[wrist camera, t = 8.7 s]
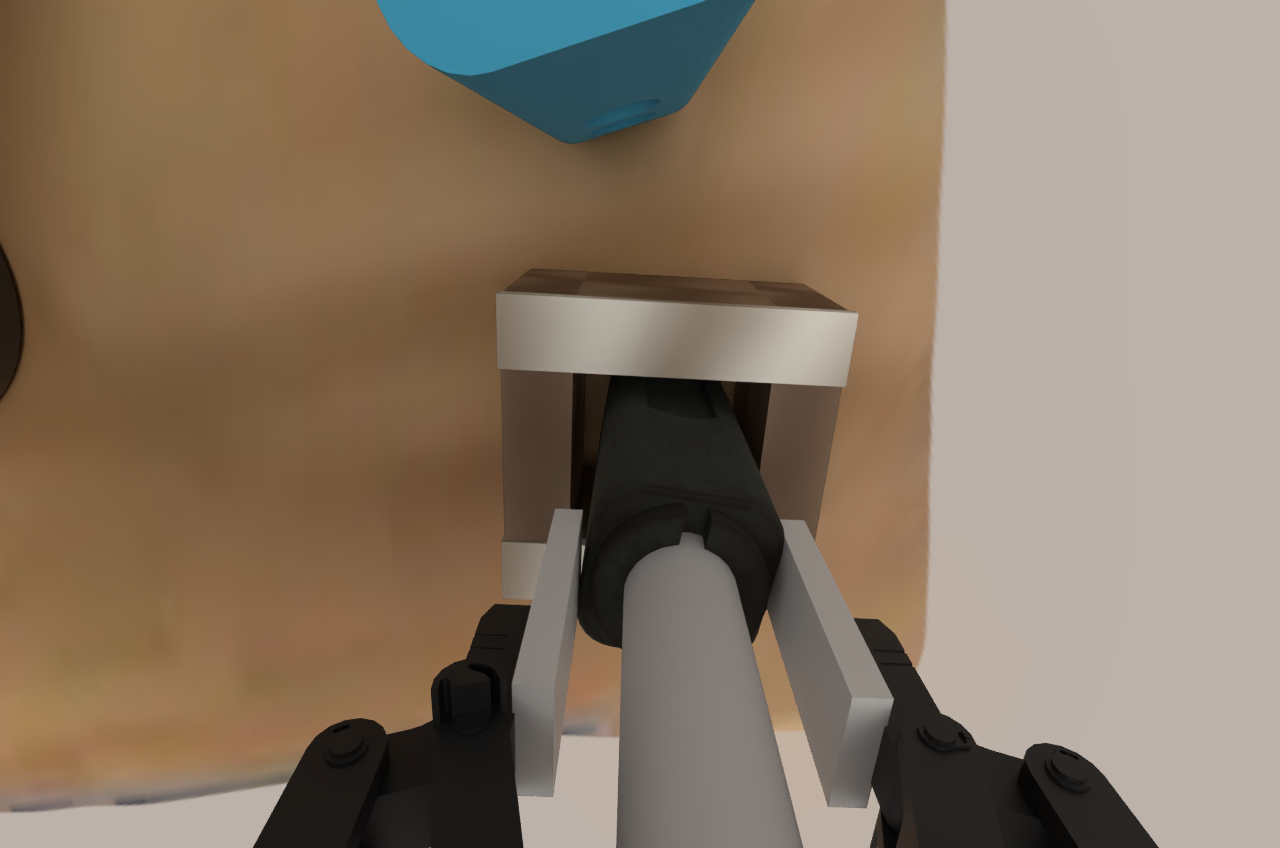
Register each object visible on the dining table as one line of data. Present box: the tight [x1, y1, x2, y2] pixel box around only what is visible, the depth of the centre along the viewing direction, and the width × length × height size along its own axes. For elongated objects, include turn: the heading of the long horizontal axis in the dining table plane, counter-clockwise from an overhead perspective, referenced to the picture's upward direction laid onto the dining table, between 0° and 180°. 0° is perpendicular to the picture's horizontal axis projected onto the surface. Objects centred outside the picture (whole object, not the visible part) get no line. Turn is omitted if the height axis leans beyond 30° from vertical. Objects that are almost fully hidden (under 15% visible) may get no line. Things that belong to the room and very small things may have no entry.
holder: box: [496, 269, 859, 610], centre depth 27 cm, size 12×12×7 cm
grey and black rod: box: [577, 375, 803, 848], centre depth 17 cm, size 5×5×25 cm
